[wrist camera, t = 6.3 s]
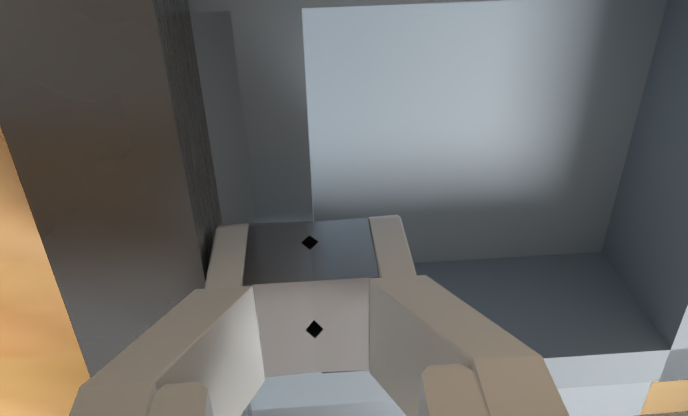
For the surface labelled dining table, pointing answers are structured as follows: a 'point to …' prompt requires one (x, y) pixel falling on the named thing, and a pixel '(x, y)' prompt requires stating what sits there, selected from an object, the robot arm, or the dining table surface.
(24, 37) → the latch bar
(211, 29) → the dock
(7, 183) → the dining table surface
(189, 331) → the robot arm
